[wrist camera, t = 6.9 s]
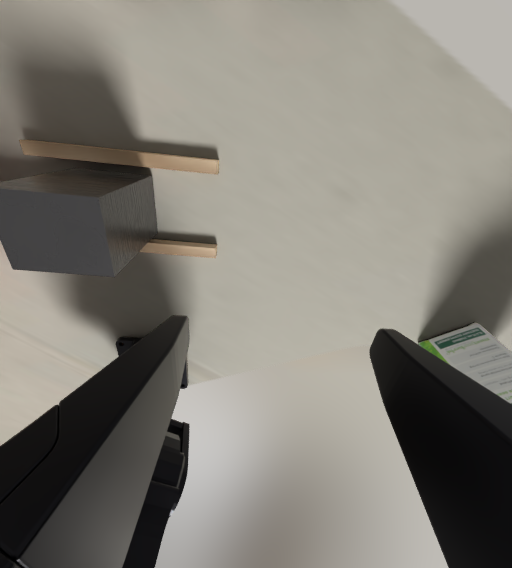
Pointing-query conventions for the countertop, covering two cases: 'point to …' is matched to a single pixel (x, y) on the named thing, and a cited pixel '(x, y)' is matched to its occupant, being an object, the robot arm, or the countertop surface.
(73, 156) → the track
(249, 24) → the countertop surface
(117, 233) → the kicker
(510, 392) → the syrup box
